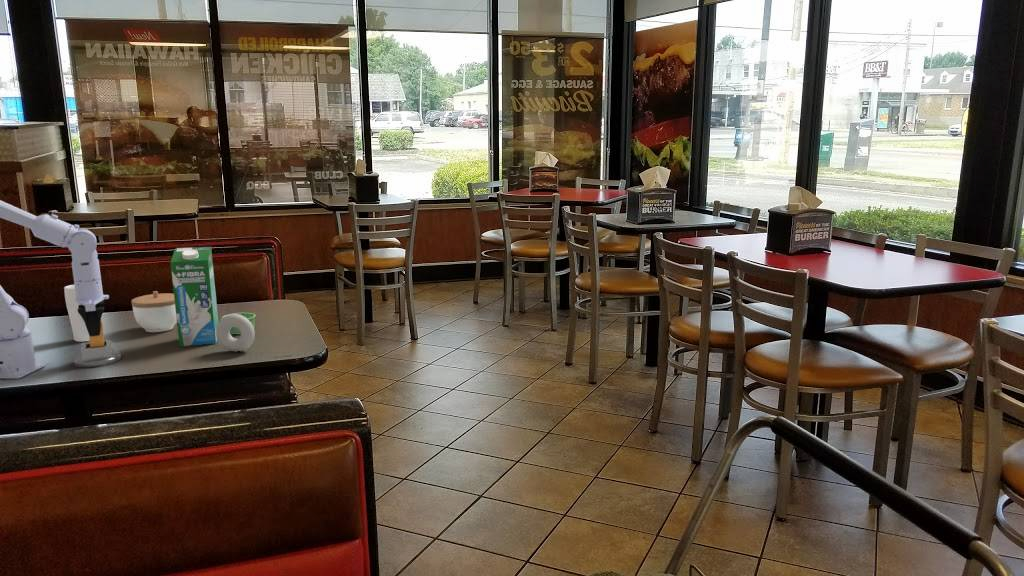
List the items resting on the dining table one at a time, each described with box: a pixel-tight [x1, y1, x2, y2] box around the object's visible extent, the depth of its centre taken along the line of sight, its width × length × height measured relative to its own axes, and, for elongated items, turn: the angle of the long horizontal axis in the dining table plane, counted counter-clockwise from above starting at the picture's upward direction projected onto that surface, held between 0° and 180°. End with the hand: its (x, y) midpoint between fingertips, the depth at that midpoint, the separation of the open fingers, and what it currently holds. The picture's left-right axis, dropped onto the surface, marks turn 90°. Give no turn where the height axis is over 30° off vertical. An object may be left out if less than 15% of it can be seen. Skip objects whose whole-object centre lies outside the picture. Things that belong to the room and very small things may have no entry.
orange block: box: [89, 318, 105, 347], centre depth 181 cm, size 3×3×6 cm
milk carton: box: [170, 246, 219, 347], centre depth 197 cm, size 9×9×25 cm
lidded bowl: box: [130, 290, 177, 333], centre depth 210 cm, size 13×13×11 cm
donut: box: [216, 313, 256, 353], centre depth 188 cm, size 10×4×10 cm, turn 84°
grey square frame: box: [73, 339, 122, 369], centre depth 182 cm, size 10×10×4 cm
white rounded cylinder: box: [63, 284, 90, 343], centre depth 199 cm, size 7×7×15 cm
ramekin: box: [221, 312, 256, 335], centre depth 209 cm, size 9×9×4 cm
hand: (94, 333), depth 181 cm, fingers closed on orange block, 3 cm apart
